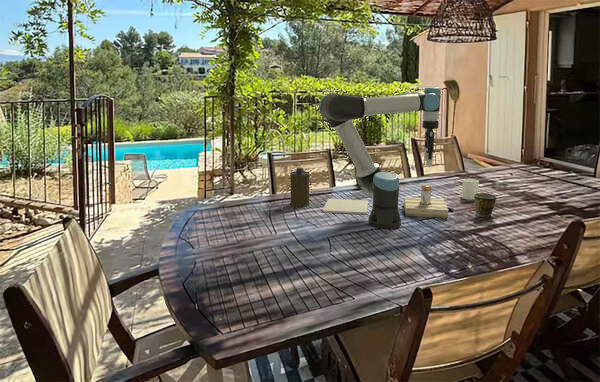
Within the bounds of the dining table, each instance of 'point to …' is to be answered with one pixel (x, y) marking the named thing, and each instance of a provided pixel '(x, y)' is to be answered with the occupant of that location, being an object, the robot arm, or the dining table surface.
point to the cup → (469, 188)
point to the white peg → (425, 195)
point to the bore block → (425, 208)
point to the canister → (299, 188)
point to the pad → (346, 206)
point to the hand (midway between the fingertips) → (427, 163)
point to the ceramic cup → (484, 204)
